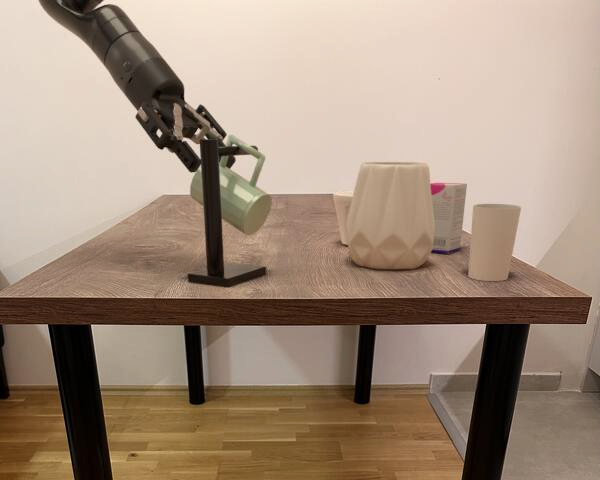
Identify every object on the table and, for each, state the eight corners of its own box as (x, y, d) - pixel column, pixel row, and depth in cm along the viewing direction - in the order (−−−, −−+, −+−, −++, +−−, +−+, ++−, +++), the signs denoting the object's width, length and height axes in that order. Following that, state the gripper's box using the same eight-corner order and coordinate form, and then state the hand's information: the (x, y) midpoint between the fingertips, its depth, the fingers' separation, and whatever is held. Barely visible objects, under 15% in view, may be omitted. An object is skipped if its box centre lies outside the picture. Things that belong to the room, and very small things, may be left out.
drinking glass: (467, 281, 92) (475, 208, 88) (463, 271, 98) (470, 203, 94) (514, 282, 91) (525, 209, 87) (507, 273, 97) (517, 204, 93)
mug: (238, 238, 90) (185, 202, 92) (261, 232, 95) (210, 198, 97) (265, 164, 84) (207, 127, 86) (289, 162, 89) (234, 128, 91)
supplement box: (460, 250, 116) (468, 182, 111) (448, 254, 111) (455, 184, 106) (431, 247, 119) (437, 181, 114) (418, 251, 114) (423, 183, 109)
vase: (326, 262, 104) (329, 162, 98) (384, 253, 113) (390, 160, 106) (392, 276, 95) (399, 166, 88) (449, 264, 103) (460, 163, 97)
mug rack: (228, 287, 88) (222, 139, 80) (188, 282, 91) (177, 139, 83) (278, 270, 99) (276, 138, 91) (240, 266, 102) (235, 138, 94)
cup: (359, 251, 114) (362, 196, 110) (321, 244, 121) (321, 192, 117) (395, 245, 120) (399, 193, 116) (356, 239, 127) (358, 189, 123)
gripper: (163, 100, 99) (228, 182, 99) (97, 97, 88) (170, 189, 88) (188, 60, 95) (256, 145, 95) (122, 50, 83) (198, 147, 83)
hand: (214, 166), depth 91 cm, fingers open, 8 cm apart
